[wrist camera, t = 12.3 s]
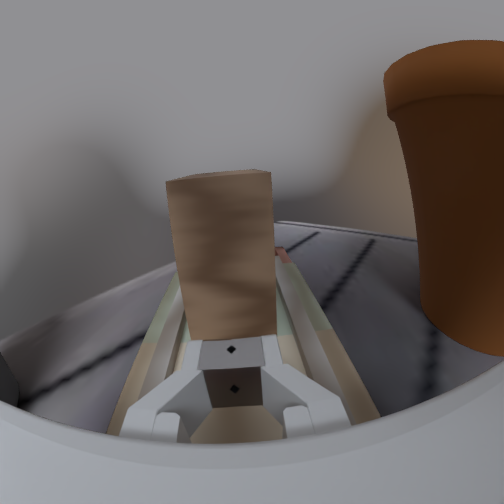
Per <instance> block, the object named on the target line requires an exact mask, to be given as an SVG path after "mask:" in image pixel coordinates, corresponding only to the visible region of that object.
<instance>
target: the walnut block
mask: <svg viewBox="0 0 504 504" xmlns="http://www.w3.org/2000/svg"><path fill="white" fill-rule="evenodd" d="M166 190H167V198H168V207H169V216H170V223H171V231H172V238H173V245H174V252H175V258H176V265H177V271H178V277H179V282H180V288H181V293H182V299H183V304H184V309H185V314H186V319H187V324H188V329H189V333H190V338H191V340H210V339H237V338H249V337H259V336H264V335H272V334H276V335H277V307H276V273H275V246H274V222H273V201H272V182H271V172H267V171H261V170H255V169H252V170H237V171H225V172H213V173H205V174H204V173H203V174H195V175H190V176H186V177H182V178H178V179H174V180H171V181H166Z"/></svg>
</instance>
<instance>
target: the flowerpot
mask: <svg viewBox="0 0 504 504" xmlns="http://www.w3.org/2000/svg"><path fill="white" fill-rule="evenodd" d="M383 82H384V89H385V97H386V105H387V115H388V117H389V118H390V120H392V121H394V122H395V124H396V128H397V131H398V135H399V139H400V142H401V147H402V150H403V155H404V159H405V164H406V168H407V173H408V178H409V184H410V189H411V195H412V201H413V208H414V215H415V223H416V231H417V241H418V253H419V269H420V302H421V306H422V309H423V311H424V312H425V314H426V316H427V318H428V319H429V320H430V321H431V322H432V323H433V324H434V325H435V326H436V327H437V328H438V329H439V330H441V331H442V332H443V333H444V334H445V335H447V336H448V337H450V338H452V339H453V340H455V341H457V342H458V343H460V344H462V345H464V346H466V347H469V348H471V349H473V350H475V351H479V352H482V353H486V354H489V355H494V356H503V357H504V42H503V41H493V40H462V41H455V42H449V43H443V44H438V45H433V46H429V47H426V48H423V49H420V50H418V51H415V52H412V53H410V54H407V55H405V56H404V57H402V58H401V59H399V60H398V61H396V62H395V63H393V64H392V65H391V66H390V67H389V68H388V70H387V71H386V72H385V74H384V80H383Z"/></svg>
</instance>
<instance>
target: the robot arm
mask: <svg viewBox="0 0 504 504" xmlns="http://www.w3.org/2000/svg"><path fill="white" fill-rule="evenodd" d="M258 405H263V407H264V408H265V409H266V410H267V411H268V412H269V413H270V414H271V415H272V416H273V417H274V418H275V419H276V420H277V421H278V422H279V423H280V424H281V425H282V426H283V432H282V439H279V440H270V441H260V442H247V443H226V444H193V443H192V442H191V440H190V437H191V436H192V435H193V433H194V432H195V431H196V430H197V428H198V427H199V426H200V425H201V423H202V422H203V421H204V420H205V418H206V417H207V416H208V415H209V413H210V412H211V411H212V408H225V407H239V406H258ZM0 504H504V360H503V361H502V362H500V363H498V364H497V365H495V366H494V367H492V368H490V369H489V370H487V371H485V372H484V373H482V374H480V375H478V376H477V377H475V378H473V379H471V380H469V381H467V382H465V383H464V384H462V385H460V386H458V387H456V388H454V389H452V390H450V391H447V392H445V393H443V394H441V395H439V396H437V397H434V398H432V399H430V400H427V401H425V402H422V403H420V404H417V405H415V406H412V407H410V408H407V409H404V410H402V411H399V412H396V413H393V414H390V415H387V416H384V417H381V418H378V419H374V420H371V421H368V422H364V423H360V424H357V425H353V426H351V424H350V421H349V419H348V416H347V414H346V411H345V409H344V406H343V404H342V402H341V399H340V397H338V396H337V395H335V394H333V393H332V392H330V391H329V390H327V389H325V388H324V387H322V386H321V385H319V384H318V383H316V382H315V381H313V380H312V379H310V378H308V377H307V376H305V375H304V374H302V373H301V372H299V371H298V370H296V369H295V368H293V367H292V366H291V365H289V364H283V360H282V356H281V352H280V348H279V343H278V339H277V335H276V334H272V335H264V336H259V337H249V338H237V339H210V340H189V341H188V342H187V345H186V349H185V353H184V357H183V362H182V366H181V371H175V372H174V373H173V374H172V375H170V376H169V377H168V378H167V379H165V380H164V381H163V382H161V383H160V384H159V385H158V386H156V387H155V388H154V389H153V390H151V391H150V392H149V393H147V394H146V395H145V396H144V397H142V398H141V399H140V400H138V401H137V402H136V403H134V404H133V405H132V406H131V407H129V408H128V410H127V413H126V416H125V419H124V422H123V425H122V428H121V431H120V434H119V436H114V435H109V434H104V433H99V432H94V431H90V430H85V429H81V428H77V427H73V426H70V425H66V424H63V423H59V422H56V421H53V420H50V419H47V418H44V417H41V416H38V415H35V414H32V413H29V412H27V411H24V410H22V409H19V408H17V407H14V406H12V405H10V404H7V403H5V402H3V401H1V400H0Z"/></svg>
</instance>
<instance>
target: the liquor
mask: <svg viewBox="0 0 504 504" xmlns="http://www.w3.org/2000/svg"><path fill="white" fill-rule="evenodd" d="M18 399H19V386H18V382H17V381H16V379H15V378H14V376H13V374H12V373H11V371H10V369H9V367H8V366H7V364H6V362H5V360H4V358H3V356H2V355H1V353H0V400H1V401H3V402H5V403H7V404H10V405H12V406H14V407H17V405H18Z"/></svg>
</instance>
